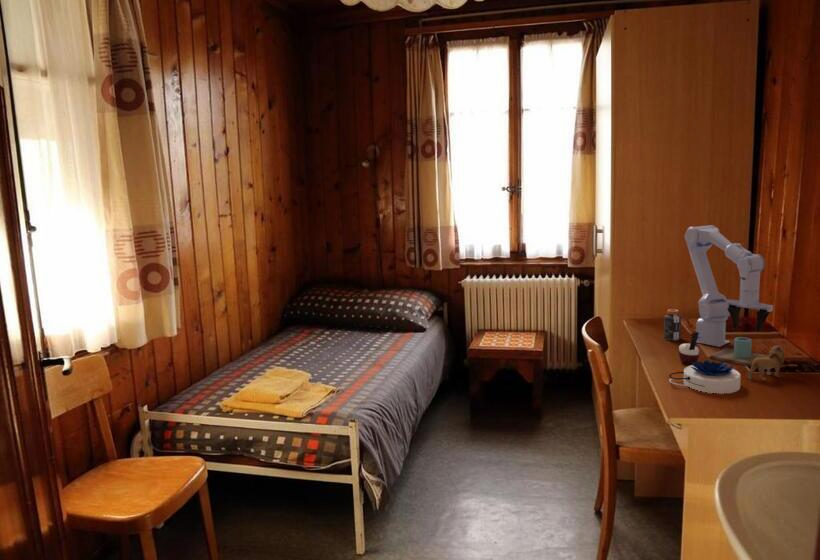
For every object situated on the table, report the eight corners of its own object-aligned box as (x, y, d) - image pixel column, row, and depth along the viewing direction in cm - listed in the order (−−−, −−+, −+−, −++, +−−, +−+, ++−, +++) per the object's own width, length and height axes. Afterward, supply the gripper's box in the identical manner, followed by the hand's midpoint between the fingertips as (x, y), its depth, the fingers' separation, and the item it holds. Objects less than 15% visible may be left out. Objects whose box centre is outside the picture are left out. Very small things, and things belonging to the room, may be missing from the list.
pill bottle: (682, 340, 231) (683, 311, 229) (665, 340, 232) (666, 311, 230) (678, 336, 237) (679, 308, 235) (662, 336, 238) (663, 308, 236)
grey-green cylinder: (731, 356, 208) (732, 339, 206) (737, 352, 211) (738, 336, 210) (746, 359, 204) (747, 342, 203) (753, 355, 207) (754, 338, 206)
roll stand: (710, 358, 210) (710, 344, 209) (726, 350, 217) (726, 336, 216) (759, 368, 198) (760, 353, 197) (774, 359, 205) (775, 345, 204)
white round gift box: (730, 355, 192) (663, 355, 195) (749, 372, 176) (676, 372, 180) (729, 376, 193) (663, 376, 196) (748, 394, 178) (675, 394, 181)
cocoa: (679, 357, 212) (680, 324, 210) (699, 359, 209) (700, 325, 207) (677, 366, 204) (678, 331, 202) (698, 368, 201) (699, 332, 199)
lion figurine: (771, 370, 196) (772, 343, 194) (787, 374, 191) (789, 347, 189) (742, 379, 189) (743, 352, 187) (759, 384, 184) (760, 356, 183)
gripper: (722, 289, 210) (720, 327, 213) (767, 295, 199) (765, 335, 202) (731, 286, 215) (730, 323, 217) (776, 291, 203) (774, 330, 206)
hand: (747, 328), depth 210 cm, fingers open, 7 cm apart
